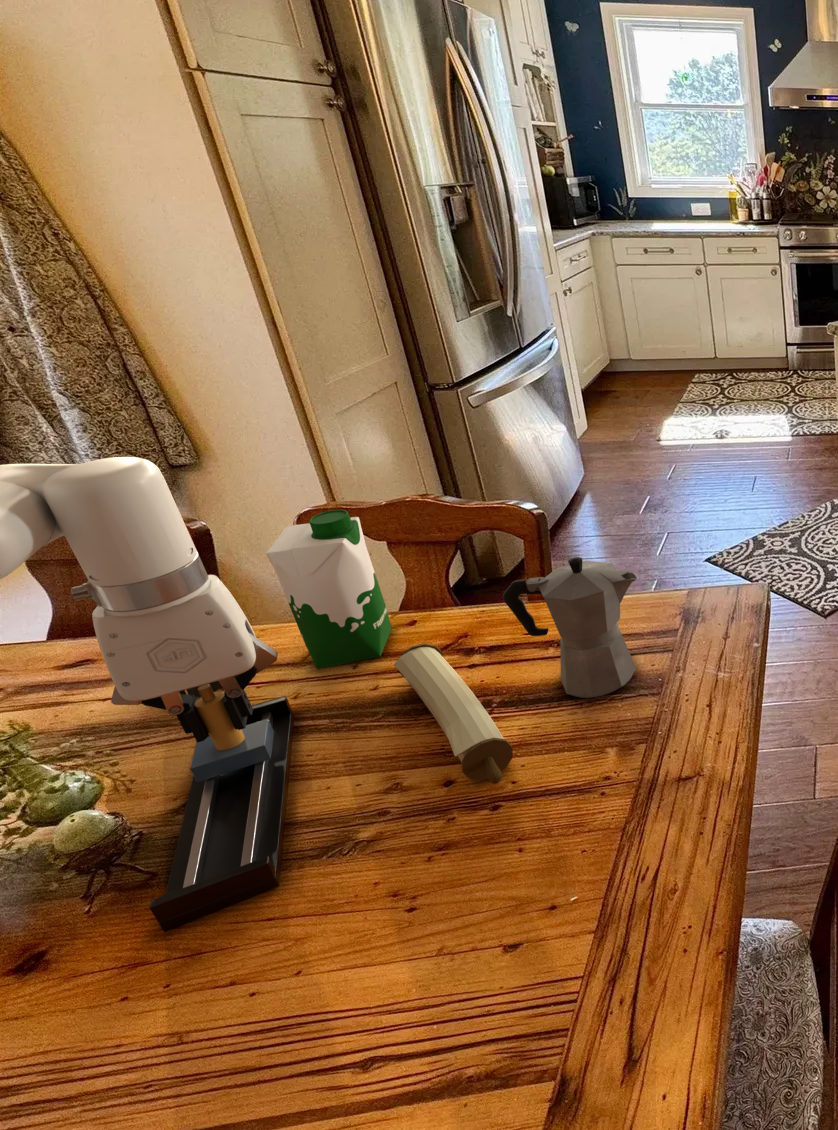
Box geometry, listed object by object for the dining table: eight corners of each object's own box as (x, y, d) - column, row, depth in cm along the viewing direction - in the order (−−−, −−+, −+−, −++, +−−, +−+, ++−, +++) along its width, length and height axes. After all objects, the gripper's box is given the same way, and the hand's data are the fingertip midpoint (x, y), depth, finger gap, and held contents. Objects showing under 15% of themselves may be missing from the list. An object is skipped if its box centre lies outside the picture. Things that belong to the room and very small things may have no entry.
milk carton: (387, 659, 103) (341, 529, 94) (304, 675, 99) (249, 541, 91) (401, 623, 110) (360, 499, 102) (324, 637, 107) (275, 510, 98)
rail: (163, 932, 68) (148, 908, 67) (206, 742, 88) (195, 721, 87) (279, 886, 72) (267, 863, 71) (294, 715, 93) (285, 695, 91)
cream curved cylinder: (530, 783, 84) (520, 748, 82) (474, 812, 81) (462, 777, 79) (440, 653, 104) (431, 623, 102) (392, 672, 100) (381, 641, 98)
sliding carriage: (197, 783, 80) (159, 711, 76) (203, 753, 84) (168, 684, 80) (271, 759, 84) (239, 689, 80) (274, 731, 87) (244, 664, 83)
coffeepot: (656, 648, 107) (637, 535, 99) (648, 692, 98) (626, 573, 91) (535, 662, 103) (506, 546, 96) (516, 709, 95) (483, 586, 87)
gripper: (18, 628, 67) (109, 783, 75) (257, 575, 76) (317, 718, 84) (43, 589, 73) (126, 737, 80) (263, 544, 81) (319, 681, 89)
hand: (223, 726), depth 82 cm, fingers closed on sliding carriage, 2 cm apart
